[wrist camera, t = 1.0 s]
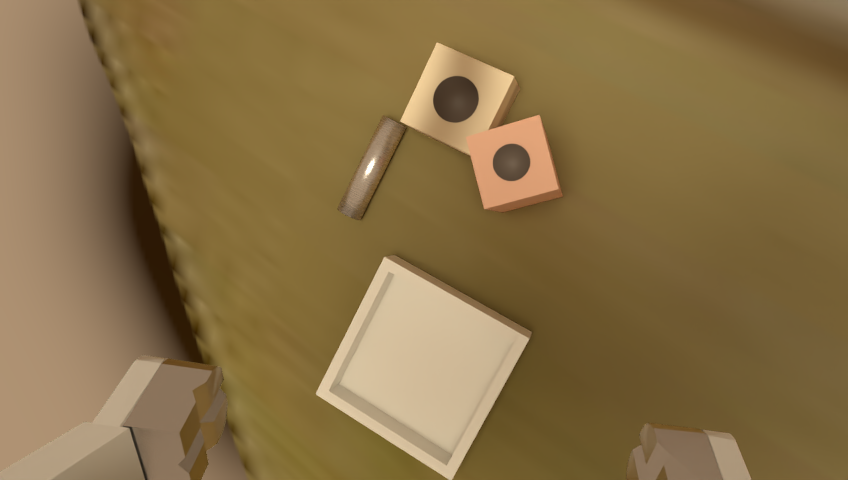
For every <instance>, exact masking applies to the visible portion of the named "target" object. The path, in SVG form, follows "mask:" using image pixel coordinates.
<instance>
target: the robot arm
mask: <svg viewBox="0 0 848 480" xmlns="http://www.w3.org/2000/svg"><path fill="white" fill-rule="evenodd" d="M223 380H224V378H223V373H222V368H221V367H218V366H212V365H206V364H199V363H193V362H187V361H180V360H174V359H167V358H160V357H153V356H146V355H142V356H141V357H139V358H138V359H136V360H135V361H134V362H133V364H132V366H131V367H130V368H129V370H128V371H127V373H126V374H125V376H124V377H123V379H122V380H121V381H120V383H119V384H118V386H117V387H116V389H115V390H114V392H113V393H112V395H111V396H110V397H109V399H108V400H107V402H106V403H105V405H104V406H103V408H102V409H101V411H100V412H99V414H98V415H97V417H96V418H95V419H94V421H93V422H92V423H90V422H83V423H82V424H80V425H78V426H77V427H75V428H73V429H72V430H70V431H68V432H67V433H65V434H63V435H61V436H60V437H58V438H56V439H55V440H53V441H51V442H50V443H48V444H46V445H45V446H43V447H41V448H39V449H38V450H36V451H34V452H33V453H31V454H29V455H28V456H26V457H24V458H23V459H21V460H19V461H18V462H16V463H14V464H12V465H11V466H9V467H7V468H6V469H4V470H2V471H1V472H0V480H201V479H202V476H203V474H204V472H205V470H206V468H207V465H208V460H207V454H206V451H207V450H209V449H210V448H212V447H213V446H214V445H216V444H217V443H218V441H219V439H220V436H221V434H222V432H223V429H224V425H225V421H226V417H227V405H228V404H227V396H226V394H225V393H224V392H223V391H222V390H221V389H220V386H221V384H222V382H223ZM639 436H640V440H641V444H642V445H640V446H638V447H636V448H635V449H633V450H632V452H631V455H630V457H629V460H628V465H627V473H626V479H627V480H751V477H750V475H749V472H748V470H747V467H746V465H745V462H744V460H743V457H742V455H741V453H740V450H739V448H738V445H737V443H736V440H735V438H734V437H733V436H732V435H731V434H730V433H724V432H716V431H709V430H700V429H697V428H688V427H680V426H672V425H663V424H655V423H647V424H646V425H644V426H643V428H642V430H641V432H640V434H639Z"/></svg>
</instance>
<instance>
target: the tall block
mask: <svg viewBox="0 0 848 480" xmlns="http://www.w3.org/2000/svg"><path fill="white" fill-rule="evenodd" d="M466 140H467V144H468V147H469V151H470V155H471V159H472V163H473V167H474V171H475V175H476V179H477V183H478V186H479V190H480V194H481V198H482V202H483V206H484V209H486V210H492V211H498V212H506V211H510V210H514V209H518V208H521V207H525V206H529V205H533V204H537V203H540V202H544V201H548V200H552V199H555V198H559V197H563V195H562V191H561V188H560V184H559V180H558V176H557V172H556V168H555V165H554V161H553V157H552V153H551V149H550V146H549V142H548V138H547V135H546V132H545V129H544V126H543V124H542V121H541V118H540V115H537V116H533V117H530V118H527V119H523V120H520V121H517V122H513V123H510V124H507V125H504V126H500V127H497V128H494V129H490V130H487V131H484V132H480V133H477V134H474V135H471V136H467V137H466Z"/></svg>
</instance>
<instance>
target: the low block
mask: <svg viewBox="0 0 848 480" xmlns="http://www.w3.org/2000/svg"><path fill="white" fill-rule="evenodd" d="M519 90H520V88H519V86H518V83H517V81H516V79H515V77H514V76H512V75H510V74H508V73H506V72H503V71H501V70H499V69H497V68H494V67H492V66H490V65H487V64H485V63H483V62H481V61H478V60H476V59H474V58H472V57H469V56H467V55H465V54H462V53H460V52H458V51H456V50H453V49H451V48H449V47H447V46H444V45H442V44H440V43H437V44H436V46H435V48H434V50H433V52H432V54H431V57H430V59H429V61H428V63H427V65H426V67H425V69H424V72H423V74H422V76H421V78H420V80H419V82H418V84H417V87H416V89H415V91H414V93H413V95H412V97H411V99H410V102H409V104H408V106H407V108H406V110H405V112H404V114H403V117H402V119H401V121H400V122H402V123H404V124H406V125H407V126H409V127H411V128H413V129H414V130H416V131H418V132H420V133H423V134H425V135H427V136H429V137H431V138H433V139H435V140H437V141H439V142H441V143H443V144H445V145H447V146H450V147H452V148H454V149H456V150H458V151H460V152H462V153H464V154H466V155H468V156H470V157H471V155H470V151H469V147H468V144H467V140H466V137H467V136H471V135H474V134H477V133H480V132H484V131H487V130H490V129H494V128H497V127H500V126H502V124H503V122H504V120H505V118H506V116H507V114H508V112H509V110H510V108H511V106H512V104H513V102H514V100H515V98H516V96H517V94H518V92H519Z"/></svg>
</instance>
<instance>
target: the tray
mask: <svg viewBox="0 0 848 480" xmlns="http://www.w3.org/2000/svg"><path fill="white" fill-rule="evenodd" d="M531 334H532V332H531V331H529V330H528V329H526V328H524V327H522V326H520V325H519V324H517V323H515V322H513V321H512V320H510V319H508V318H506V317H504V316H503V315H501V314H499V313H497V312H496V311H494V310H492V309H490V308H488V307H487V306H485V305H483V304H481V303H479V302H478V301H476V300H474V299H472V298H471V297H469V296H467V295H465V294H463V293H462V292H460V291H458V290H456V289H454V288H453V287H451V286H449V285H447V284H446V283H444V282H442V281H440V280H438V279H437V278H435V277H433V276H431V275H430V274H428V273H426V272H424V271H422V270H421V269H419V268H417V267H415V266H413V265H412V264H410V263H408V262H406V261H405V260H403V259H401V258H399V257H397V256H396V255H392V256H386V257H384V259H383V261H382V263H381V265H380V267H379V269H378V271H377V273H376V275H375V277H374V279H373V281H372V283H371V285H370V287H369V289H368V291H367V293H366V295H365V297H364V299H363V301H362V303H361V305H360V307H359V309H358V311H357V313H356V315H355V317H354V319H353V321H352V323H351V325H350V327H349V329H348V331H347V333H346V335H345V337H344V339H343V341H342V343H341V345H340V347H339V349H338V351H337V353H336V354H335V356H334V358H333V360H332V362H331V364H330V366H329V368H328V370H327V372H326V374H325V376H324V378H323V380H322V382H321V384H320V386H319V388H318V390H317V392H316V395H318V396H319V397H321V398H322V399H324V400H325V401H327V402H329V403H330V404H332V405H333V406H335V407H336V408H338V409H340V410H341V411H343V412H344V413H346V414H347V415H349V416H350V417H352V418H354V419H355V420H357V421H358V422H360V423H361V424H363V425H365V426H366V427H368V428H369V429H371V430H372V431H374V432H375V433H377V434H379V435H380V436H382V437H383V438H385V439H386V440H388V441H390V442H391V443H393V444H394V445H396V446H397V447H399V448H400V449H402V450H404V451H405V452H407V453H408V454H410V455H411V456H413V457H415V458H416V459H418V460H419V461H421V462H422V463H424V464H425V465H427V466H429V467H430V468H432V469H433V470H435V471H436V472H438V473H440V474H441V475H443V476H444V477H446V478H447V479H449V480H452V479H453V477H454V475H455V473H456V471H457V469H458V468H459V466H460V464H461V462H462V460H463V459H464V457H465V455H466V453H467V451H468V449H469V448H470V446H471V444H472V442H473V440H474V439H475V437H476V435H477V433H478V431H479V430H480V428H481V426H482V424H483V422H484V420H485V419H486V417H487V415H488V413H489V411H490V410H491V408H492V406H493V404H494V402H495V401H496V399H497V397H498V395H499V393H500V391H501V390H502V388H503V386H504V384H505V382H506V381H507V379H508V377H509V375H510V373H511V372H512V370H513V368H514V366H515V364H516V362H517V361H518V359H519V357H520V355H521V353H522V352H523V350H524V348H525V346H526V344H527V342H528V341H529V339H530V337H531Z"/></svg>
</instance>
